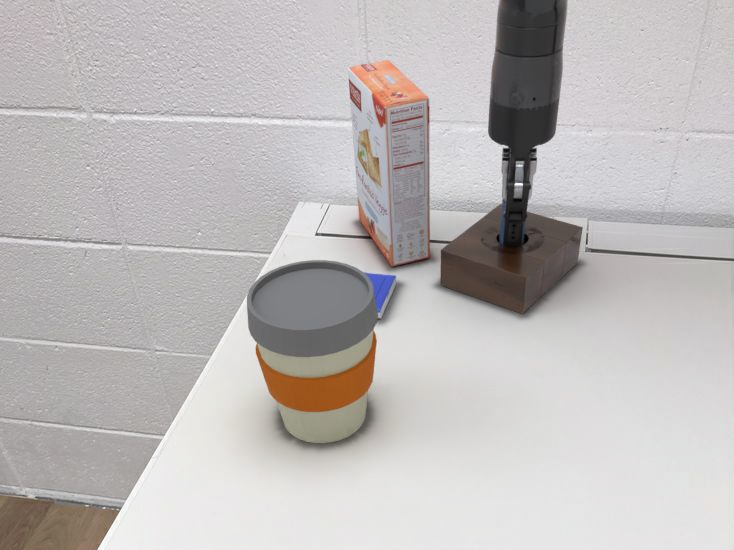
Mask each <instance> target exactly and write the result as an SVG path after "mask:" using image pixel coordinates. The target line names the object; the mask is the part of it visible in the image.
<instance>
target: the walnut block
mask: <svg viewBox="0 0 734 550" xmlns="http://www.w3.org/2000/svg"><path fill="white" fill-rule="evenodd" d="M501 211H502V203H499V204H498V205H497V206H495V207H494V208H493V209H492V210H490V211H489V212H487V214H485V215H484V216H483V217H481V218H480V219H479V220H478V221H476V222H474V224H472V225H471V226H470V227H468V228H467V229H466V230H465V231H463V232H461V234H459V235H458V236H457V237H456V238H454V239H453V240H452V241H450V242H449V243H447V244H446V245H445V246H444V247H443V248H442V249H440V280H439V281H440V286H442V287H444V288H447V289H450V290H453V291H456V292H459V293H462V294H464V295H467V296H469V297H473V298H474V299H475V298H476V299H479V300H481V301H484V302H487V303H490V304H493V305H496V306H499V307H501V308H504V309H507V310H510V311H513V312H516V313H518V314H522V315H523V314H524V313H526V312H527V311H528V310H529V309H530V308H531V307H532V306H533V305H535V303H536V302H537V301H538V300H539V299H541V298H542V297H543V296H544V295H545V294H546V293H547V292H549V290H550V289H551V288H553V286H555V285H556V284H557V282H559V281H560V280H561V279H562V278H563V277H564V276H565V275H567V273H568V272H570V270H572V269H573V268H574V267H575V266H576V265H577V264H578V262H579V255H580V248H581V243H582V242H581V241H582V236H583V228H584V227H583V226H579V225H577V224H573V223H570V222H565V221H563V220H558V219H555V218H553V217H549V216H544V215H541V214H538V213H533V212H531V211H527V218H526V223H525V233H524V243H523V245H521V246H520V247H505V246H504V245H501V244H500V243H499V238H500V224H501Z"/></svg>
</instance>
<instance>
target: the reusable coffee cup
mask: <svg viewBox="0 0 734 550" xmlns="http://www.w3.org/2000/svg"><path fill="white" fill-rule="evenodd" d="M365 273H366V272H364V271H363V270H362V269H359V268H358V267H356V266H354V265H350V264H348V263H345V262H339V261H335V260H326V259H312V260H301V261H297V262H296V261H295V262H291V263H288V264H284V265H281V266H278V267H276V268H274V269H271V270H270V271H268V272H266V273H265V274H263V275H261V276H260V277H259V278H258V279H257V280H255V281H254V282H253V284H252V285H251V287H250V288H249V289H248V292H247V295H246V311H247V312H246V313H247V326H248V331H249V334H250V337H252V338H253V340H254V341H255V342H256V344H255V356H256V358H257V361H258V363H259V366H260V369H261V372H262V376H263V379H264V380H265V384H266V388H267V390H268V393H269V395H270V396H271V397H272V399H274V400H275V402H276V405H277V407H278V410H279V413H280V417H281V419H282V422H283V425H284V428H285V430H287V432H288V433H289V434H290V435H291V436H292V437H294V438H296V439H298V440H301V441H304V442H306V443H311V444H329V443H334V442H339V441H341V440H345V439H346V438H349V437H350V436H352V435H354V434H355V433H356V432H357V431H359V430H360V429H361V427H362V426H363V424H364V423H365V420H366V416H367V407H368V406H367V405H368V395H369V394H368V393H369V390H370V388H371V386H372V384H373V381H374V374H375V365H376V364H375V362H376V353H377V334H376V333H375V330H374V329H375V327H376V325H377V323H378V319H379V318H378V312H377V306H376V300H375V295H374V289H373V284H372V282H371V280H370V278H369V277H368V276H367V275H366V274H365Z"/></svg>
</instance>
